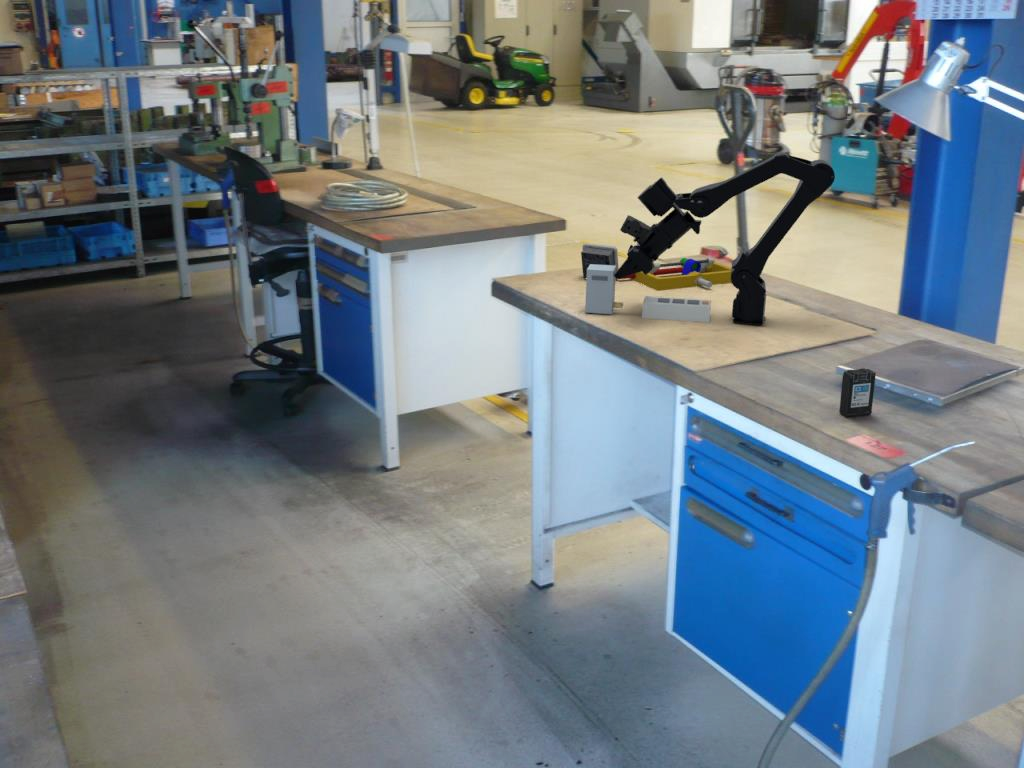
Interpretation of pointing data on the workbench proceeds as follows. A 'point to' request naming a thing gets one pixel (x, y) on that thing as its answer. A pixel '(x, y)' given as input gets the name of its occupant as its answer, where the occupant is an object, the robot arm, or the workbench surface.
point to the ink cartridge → (857, 393)
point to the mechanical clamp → (685, 275)
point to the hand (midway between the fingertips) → (615, 277)
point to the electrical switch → (598, 256)
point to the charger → (601, 289)
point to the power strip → (676, 309)
